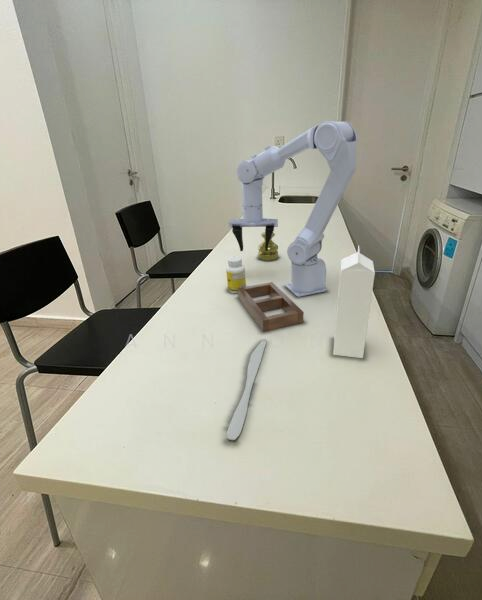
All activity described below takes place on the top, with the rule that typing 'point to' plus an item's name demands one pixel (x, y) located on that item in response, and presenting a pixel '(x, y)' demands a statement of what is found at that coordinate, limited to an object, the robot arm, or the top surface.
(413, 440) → the top surface
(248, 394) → the butter knife
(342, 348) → the milk
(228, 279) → the supplement bottle
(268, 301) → the divided wooden frame
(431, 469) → the top surface
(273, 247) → the brass tiered ornament
